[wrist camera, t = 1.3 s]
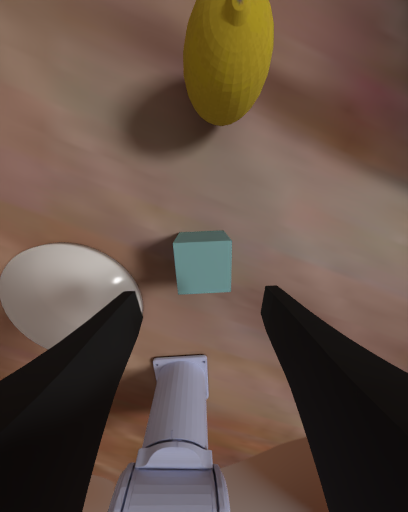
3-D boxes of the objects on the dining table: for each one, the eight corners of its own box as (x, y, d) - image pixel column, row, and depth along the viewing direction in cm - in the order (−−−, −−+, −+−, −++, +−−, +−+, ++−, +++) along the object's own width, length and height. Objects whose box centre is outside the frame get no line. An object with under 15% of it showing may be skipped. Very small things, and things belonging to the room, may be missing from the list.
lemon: (176, 118, 15) (154, 30, 7) (206, 46, 13) (217, -161, 6) (227, 152, 16) (255, 106, 8) (260, 89, 14) (331, -37, 7)
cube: (223, 270, 20) (230, 291, 15) (182, 272, 20) (178, 294, 15) (223, 230, 18) (231, 240, 14) (179, 232, 18) (172, 243, 13)
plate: (151, 346, 23) (149, 353, 22) (39, 353, 23) (31, 360, 22) (131, 239, 18) (126, 241, 17) (-15, 245, 18) (-29, 248, 17)
